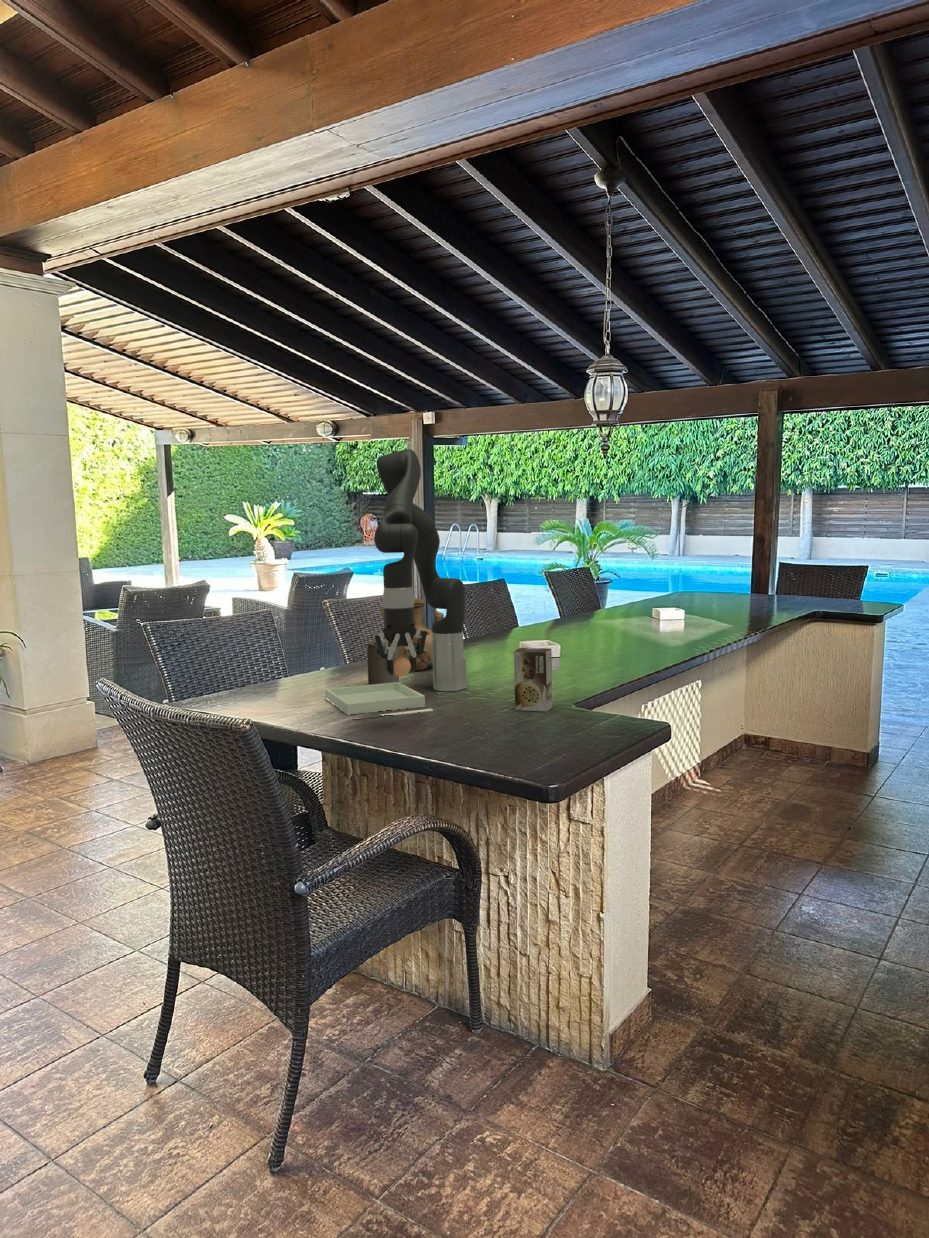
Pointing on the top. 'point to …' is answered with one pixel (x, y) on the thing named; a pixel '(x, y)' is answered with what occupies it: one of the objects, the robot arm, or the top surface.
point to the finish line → (408, 712)
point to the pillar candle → (379, 665)
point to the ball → (401, 666)
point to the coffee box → (533, 679)
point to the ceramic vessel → (428, 648)
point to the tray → (375, 697)
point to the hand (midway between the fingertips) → (401, 672)
